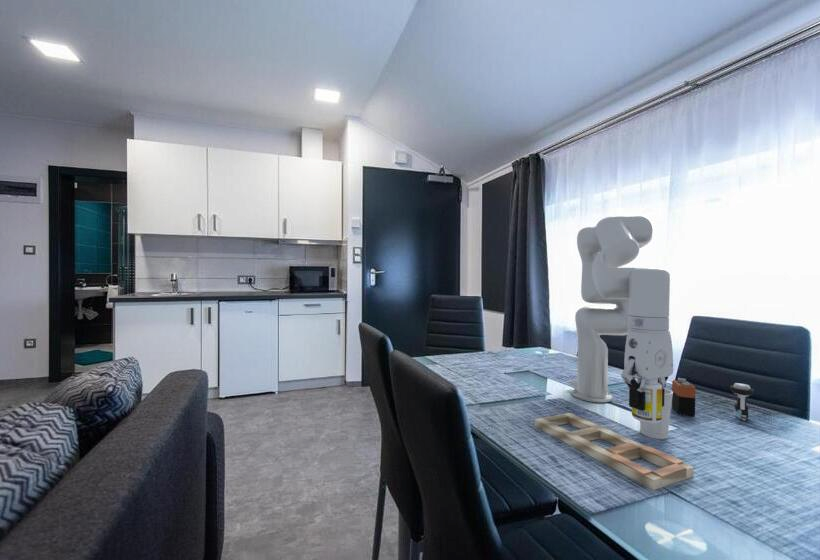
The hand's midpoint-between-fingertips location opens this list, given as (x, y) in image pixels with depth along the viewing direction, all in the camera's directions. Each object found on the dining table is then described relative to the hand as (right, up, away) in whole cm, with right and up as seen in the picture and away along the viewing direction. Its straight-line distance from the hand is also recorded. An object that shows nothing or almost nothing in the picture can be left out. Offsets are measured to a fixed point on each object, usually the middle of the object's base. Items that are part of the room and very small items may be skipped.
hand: (646, 405), depth 80 cm
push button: (+48, -14, +30) cm, 58 cm away
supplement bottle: (0, -3, 0) cm, 3 cm away
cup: (+14, -14, +18) cm, 27 cm away
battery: (+34, -14, +35) cm, 51 cm away
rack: (-4, -14, +10) cm, 17 cm away
